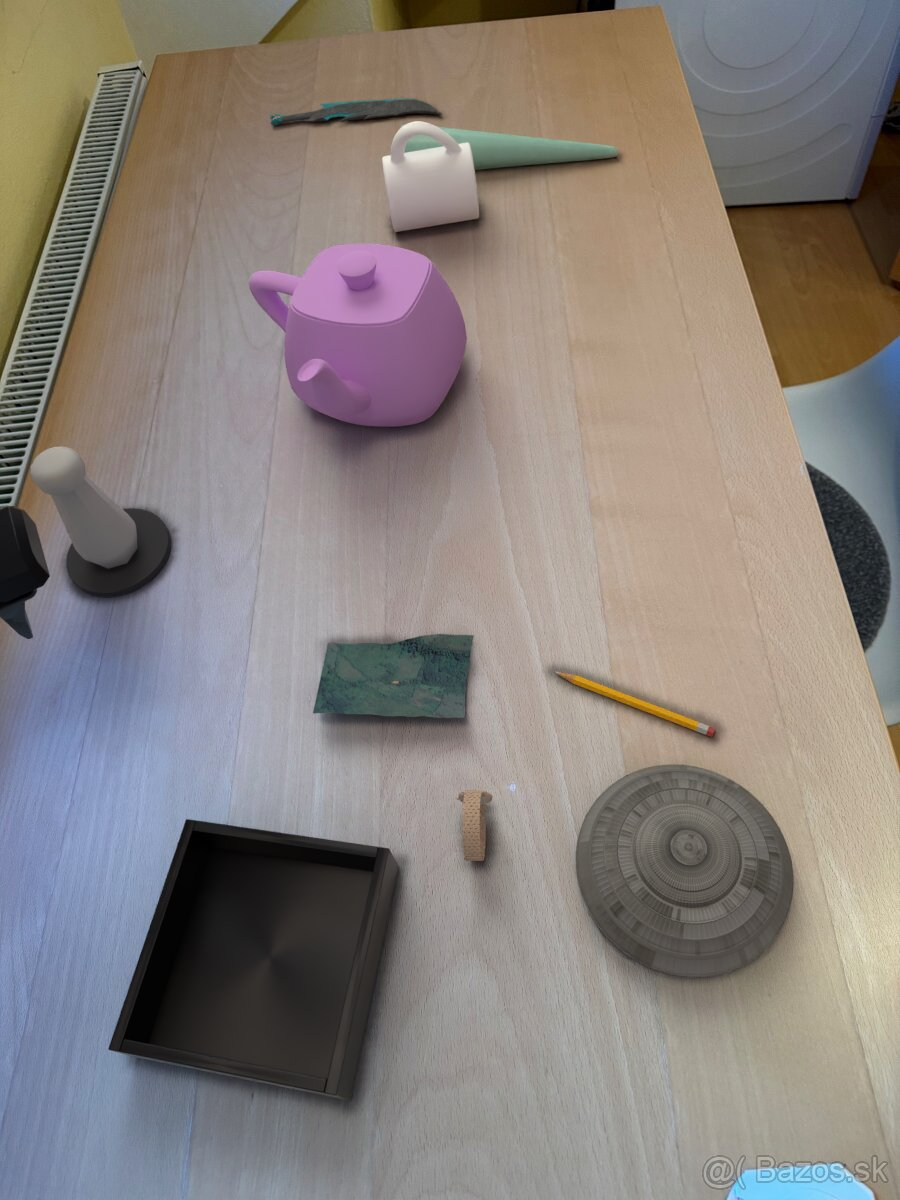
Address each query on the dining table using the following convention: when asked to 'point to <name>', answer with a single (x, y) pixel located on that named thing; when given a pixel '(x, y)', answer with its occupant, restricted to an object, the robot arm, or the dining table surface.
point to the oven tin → (261, 958)
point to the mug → (429, 180)
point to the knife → (361, 110)
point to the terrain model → (397, 677)
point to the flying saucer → (684, 870)
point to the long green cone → (514, 148)
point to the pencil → (639, 704)
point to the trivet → (132, 574)
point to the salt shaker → (85, 508)
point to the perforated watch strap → (474, 823)
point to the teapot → (367, 333)
